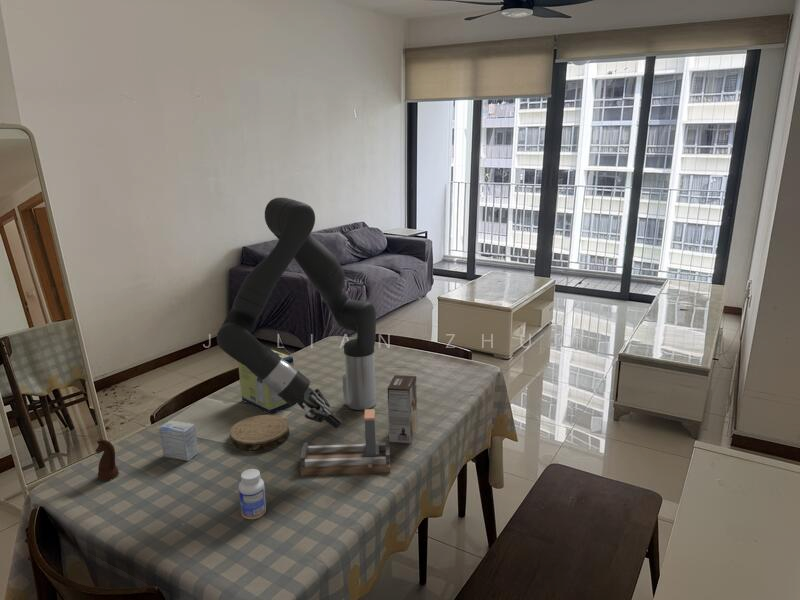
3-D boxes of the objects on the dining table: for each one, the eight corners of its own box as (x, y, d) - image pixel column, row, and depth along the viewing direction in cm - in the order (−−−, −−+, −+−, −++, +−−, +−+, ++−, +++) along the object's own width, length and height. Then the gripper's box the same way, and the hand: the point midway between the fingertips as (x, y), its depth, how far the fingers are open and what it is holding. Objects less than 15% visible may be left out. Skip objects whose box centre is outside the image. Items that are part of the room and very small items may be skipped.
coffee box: (395, 426, 159) (394, 374, 155) (417, 427, 158) (416, 375, 154) (388, 442, 151) (386, 387, 146) (411, 444, 149) (410, 389, 145)
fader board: (300, 475, 136) (299, 461, 135) (305, 453, 146) (304, 440, 145) (390, 472, 137) (390, 457, 136) (389, 450, 146) (389, 437, 145)
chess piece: (106, 470, 140) (100, 434, 137) (124, 471, 139) (118, 435, 137) (93, 480, 136) (87, 444, 133) (112, 482, 135) (106, 445, 132)
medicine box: (199, 453, 147) (195, 423, 145) (187, 462, 143) (183, 431, 141) (174, 448, 150) (170, 419, 147) (163, 457, 146) (158, 427, 143)
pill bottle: (243, 505, 125) (239, 467, 122) (268, 503, 125) (264, 465, 123) (239, 521, 120) (234, 481, 117) (264, 519, 120) (260, 479, 118)
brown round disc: (234, 457, 145) (233, 447, 144) (228, 430, 159) (227, 421, 159) (294, 445, 151) (294, 435, 150) (284, 419, 165) (283, 410, 164)
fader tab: (363, 461, 139) (361, 418, 135) (363, 451, 143) (361, 409, 140) (379, 460, 139) (377, 417, 136) (379, 450, 143) (377, 409, 140)
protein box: (268, 390, 185) (264, 346, 181) (297, 403, 175) (294, 357, 171) (240, 400, 177) (236, 355, 173) (270, 415, 167) (265, 367, 163)
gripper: (292, 381, 128) (348, 427, 131) (299, 360, 140) (350, 403, 144) (270, 403, 129) (326, 448, 132) (280, 380, 142) (331, 422, 145)
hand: (339, 424), depth 138 cm, fingers closed
